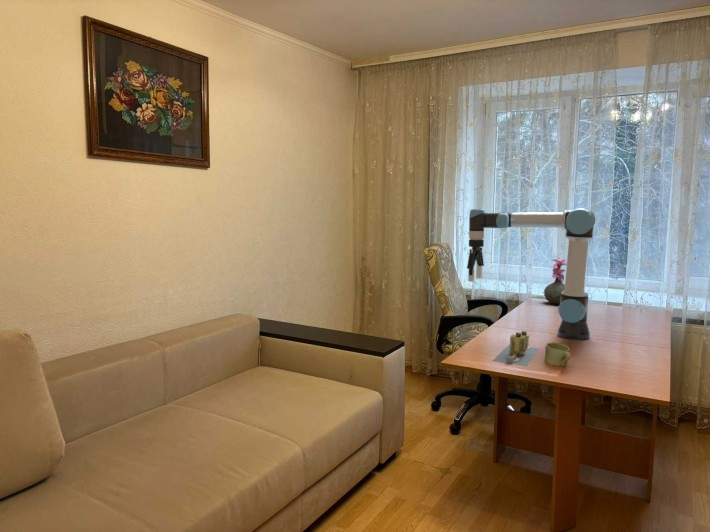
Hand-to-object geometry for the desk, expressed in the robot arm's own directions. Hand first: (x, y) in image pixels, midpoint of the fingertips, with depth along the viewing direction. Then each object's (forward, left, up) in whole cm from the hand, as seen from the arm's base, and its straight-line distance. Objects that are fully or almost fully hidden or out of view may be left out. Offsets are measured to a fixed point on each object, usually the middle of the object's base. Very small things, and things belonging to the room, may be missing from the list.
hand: (475, 279), depth 273 cm
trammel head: (-30, +34, -26) cm, 53 cm away
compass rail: (-30, +35, -27) cm, 54 cm away
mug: (-48, +40, -28) cm, 69 cm away
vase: (-26, -101, -28) cm, 108 cm away
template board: (-30, +35, -27) cm, 54 cm away
